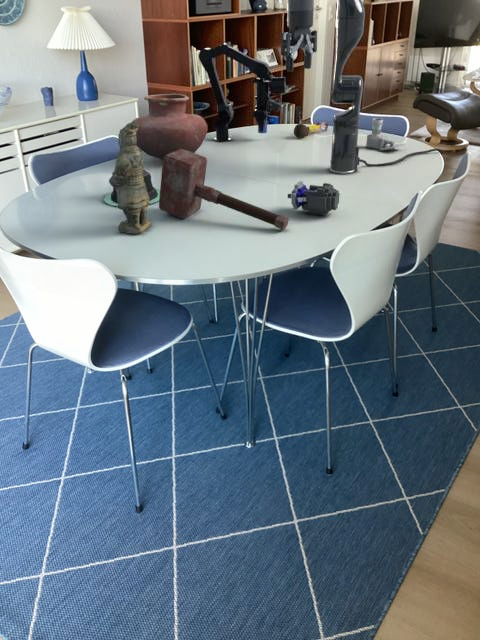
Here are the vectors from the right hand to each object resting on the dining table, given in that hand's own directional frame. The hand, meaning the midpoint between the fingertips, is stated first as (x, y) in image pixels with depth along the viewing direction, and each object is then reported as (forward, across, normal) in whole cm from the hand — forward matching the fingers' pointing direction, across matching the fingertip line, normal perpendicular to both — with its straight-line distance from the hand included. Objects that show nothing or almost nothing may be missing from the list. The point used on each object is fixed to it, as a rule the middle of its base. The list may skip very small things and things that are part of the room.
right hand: (298, 70), depth 168 cm
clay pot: (+38, -2, -66) cm, 77 cm away
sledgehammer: (+38, +34, 0) cm, 51 cm away
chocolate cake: (+38, +38, -39) cm, 66 cm away
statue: (+38, +56, -15) cm, 70 cm away
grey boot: (+38, -72, -9) cm, 82 cm away
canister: (+35, -52, -61) cm, 87 cm away
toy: (+38, +12, +16) cm, 43 cm away
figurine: (+38, -76, -51) cm, 99 cm away
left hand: (+34, -52, -61) cm, 87 cm away
